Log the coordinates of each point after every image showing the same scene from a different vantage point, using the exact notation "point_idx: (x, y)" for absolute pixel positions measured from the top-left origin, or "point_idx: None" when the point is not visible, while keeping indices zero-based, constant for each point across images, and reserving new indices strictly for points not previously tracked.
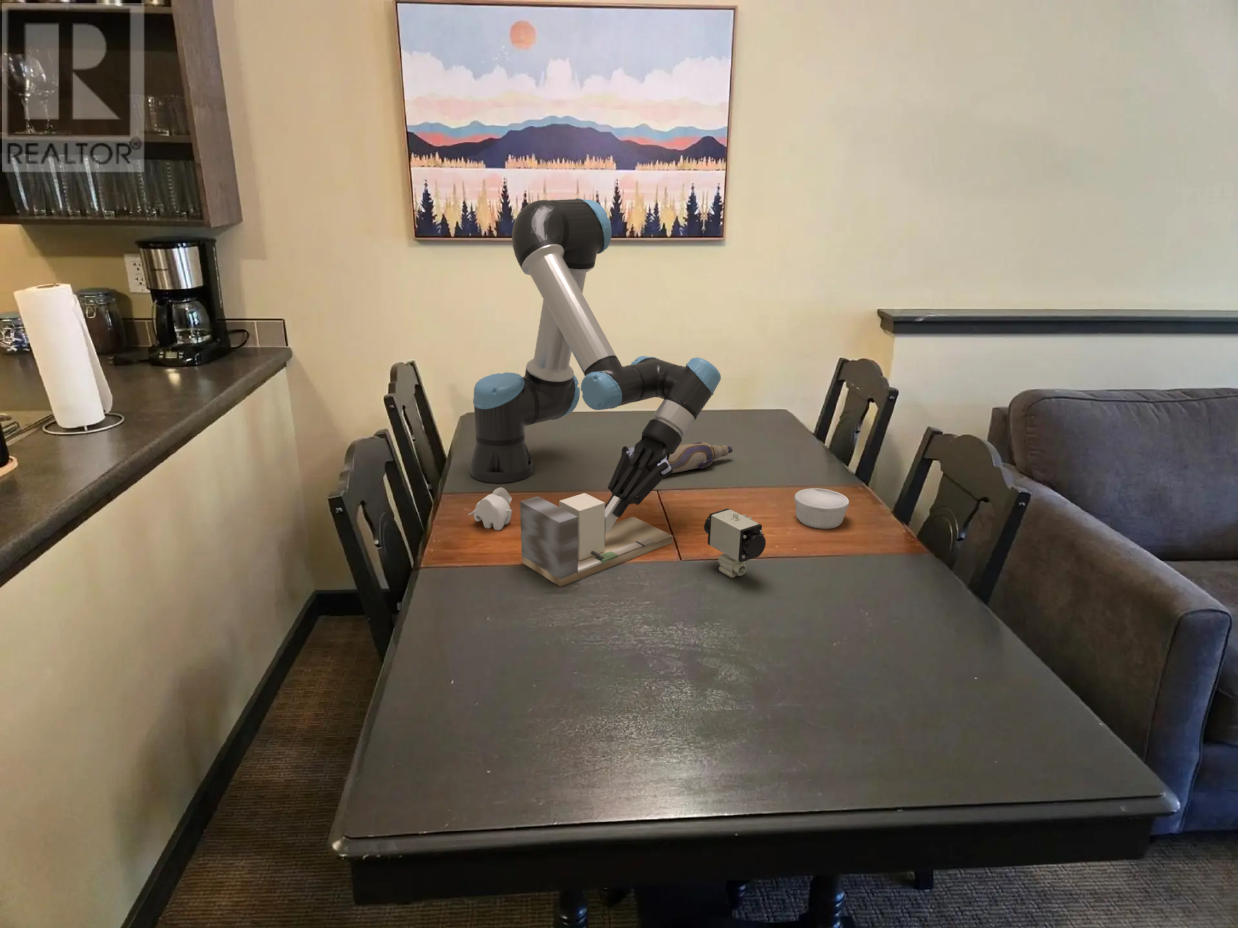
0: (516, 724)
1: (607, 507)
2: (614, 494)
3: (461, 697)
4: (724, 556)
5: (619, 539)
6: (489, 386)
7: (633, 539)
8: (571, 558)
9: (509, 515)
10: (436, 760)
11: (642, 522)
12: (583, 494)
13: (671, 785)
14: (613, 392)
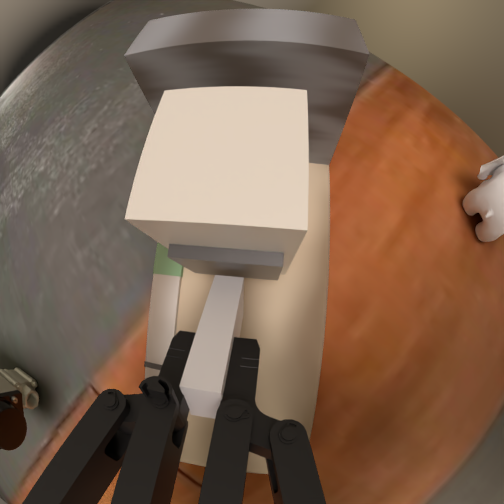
0: (93, 36)
1: (225, 334)
2: (226, 401)
3: (143, 16)
4: (10, 383)
5: None
6: None
7: None
8: None
9: (484, 227)
10: (121, 9)
11: (256, 469)
12: (293, 209)
13: (9, 93)
14: None
